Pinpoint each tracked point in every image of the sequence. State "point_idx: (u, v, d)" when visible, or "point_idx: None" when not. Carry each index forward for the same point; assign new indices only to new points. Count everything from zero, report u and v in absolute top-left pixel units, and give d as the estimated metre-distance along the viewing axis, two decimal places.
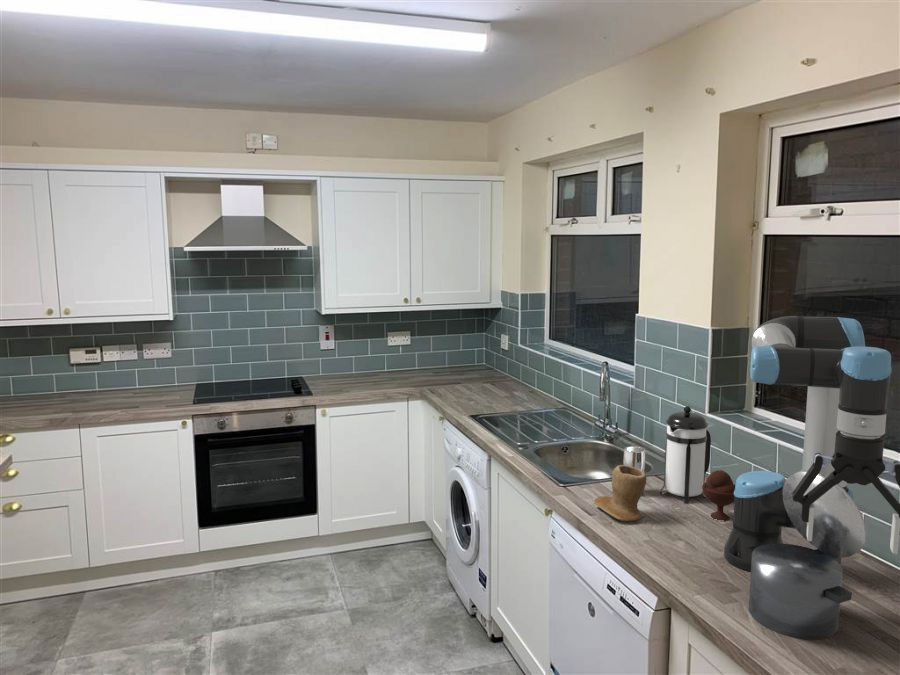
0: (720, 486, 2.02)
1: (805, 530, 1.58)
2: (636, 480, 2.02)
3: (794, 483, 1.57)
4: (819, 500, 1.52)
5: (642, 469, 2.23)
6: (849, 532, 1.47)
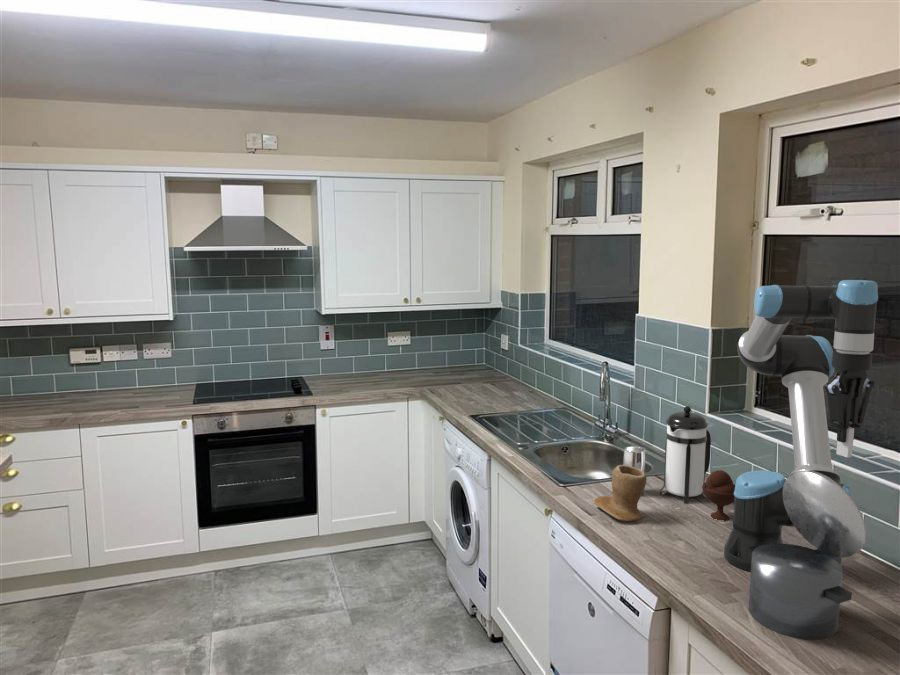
0: (720, 486, 2.02)
1: (805, 530, 1.58)
2: (636, 480, 2.02)
3: (794, 483, 1.57)
4: (819, 500, 1.52)
5: (642, 469, 2.23)
6: (849, 532, 1.47)
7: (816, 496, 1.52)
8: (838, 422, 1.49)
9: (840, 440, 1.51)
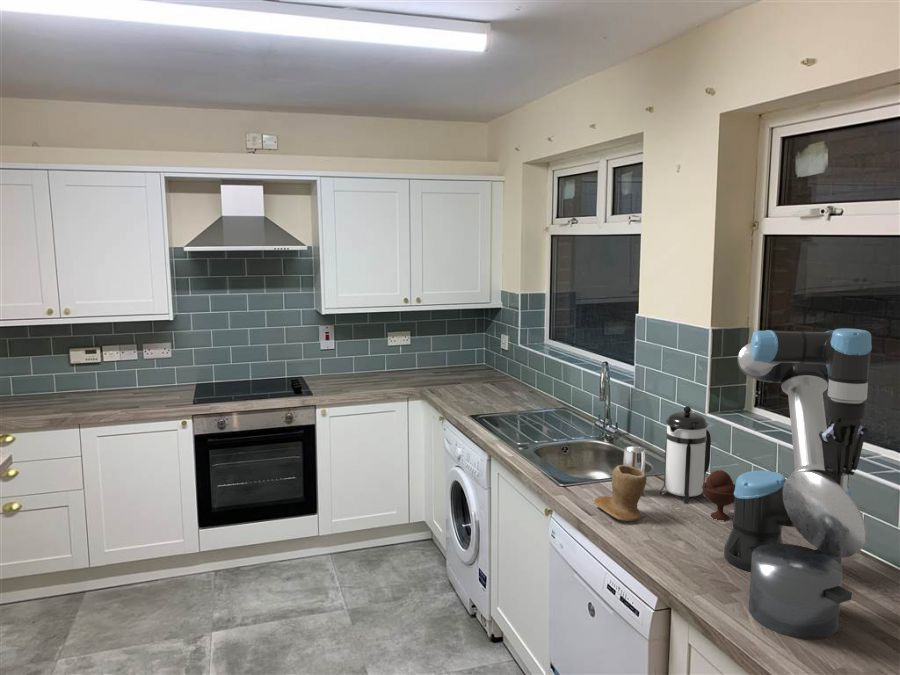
0: (720, 486, 2.02)
1: (805, 530, 1.58)
2: (636, 480, 2.02)
3: (794, 483, 1.57)
4: (819, 500, 1.52)
5: (642, 469, 2.23)
6: (849, 532, 1.47)
7: (816, 496, 1.52)
8: (832, 469, 1.51)
9: None
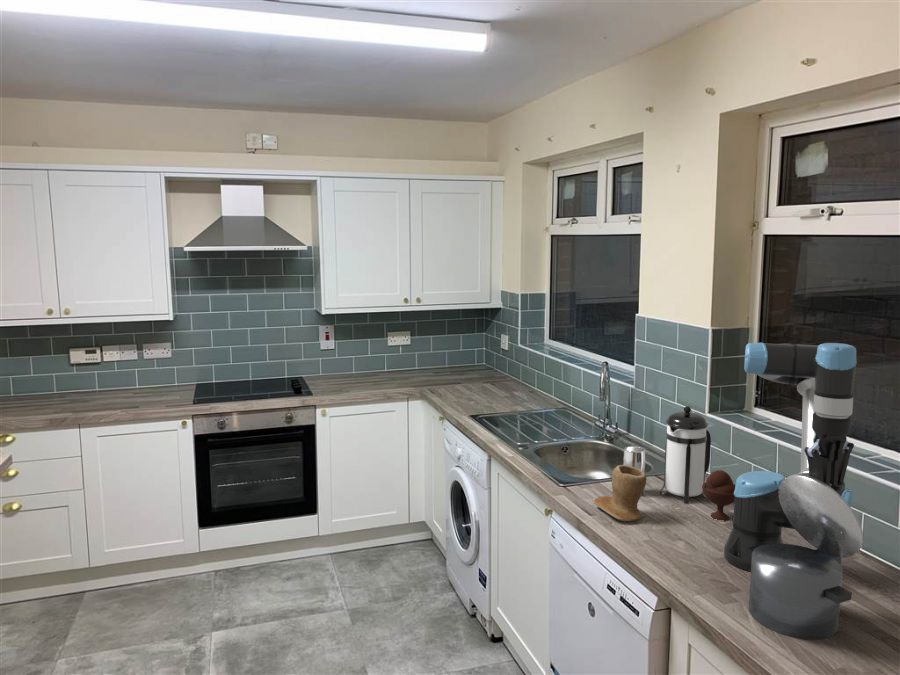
0: (720, 486, 2.02)
1: (804, 531, 1.58)
2: (636, 480, 2.02)
3: (788, 486, 1.56)
4: (814, 503, 1.51)
5: (642, 469, 2.23)
6: (846, 534, 1.46)
7: (811, 499, 1.51)
8: None
9: None
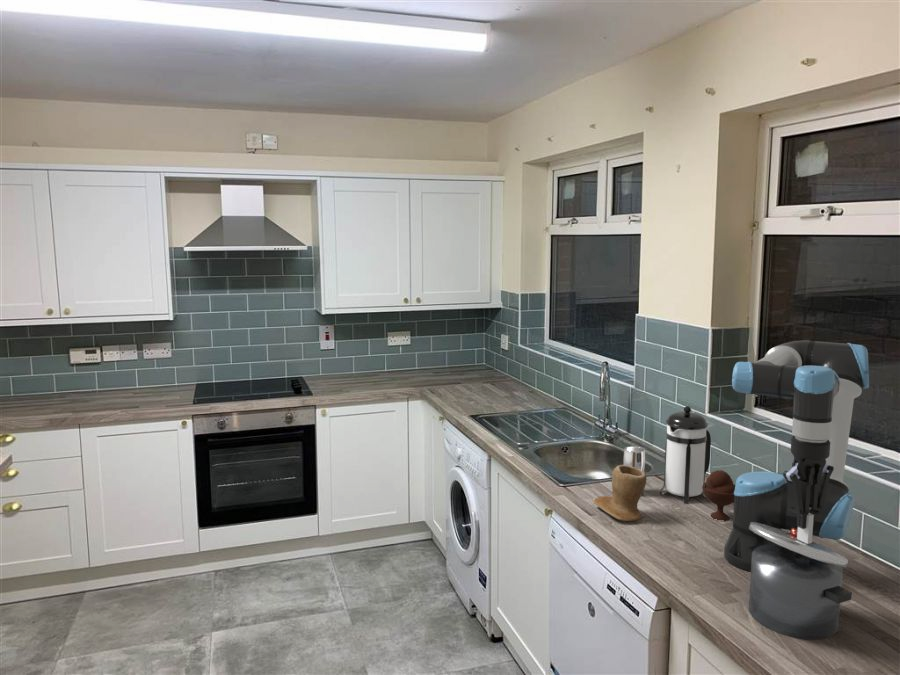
0: (720, 486, 2.02)
1: None
2: (636, 480, 2.02)
3: None
4: None
5: (642, 469, 2.23)
6: None
7: None
8: (797, 509, 1.48)
9: (800, 526, 1.50)
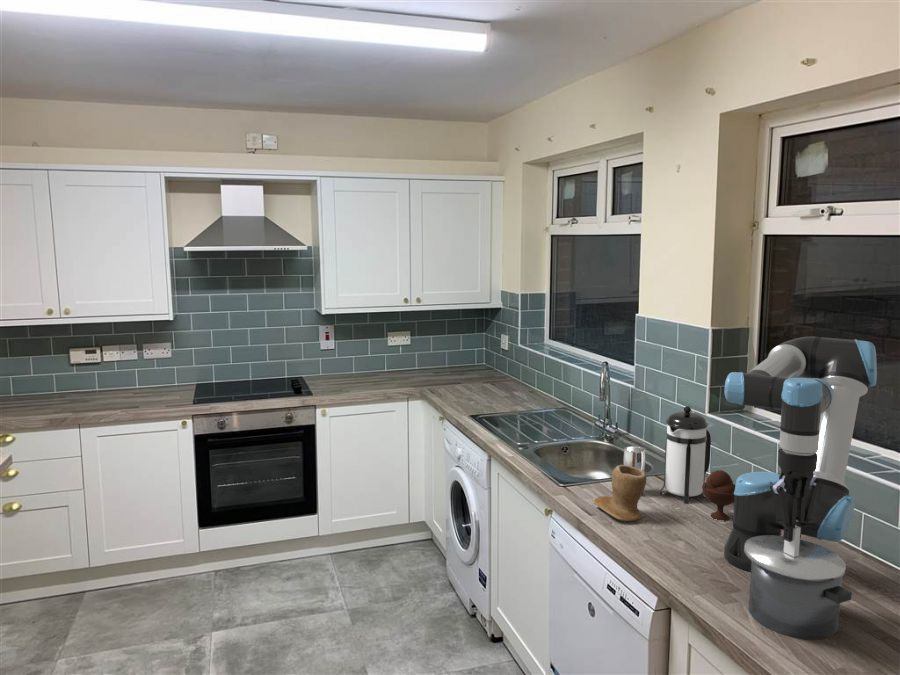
0: (720, 486, 2.02)
1: None
2: (636, 480, 2.02)
3: None
4: None
5: (642, 469, 2.23)
6: None
7: None
8: (784, 522, 1.47)
9: (786, 539, 1.49)
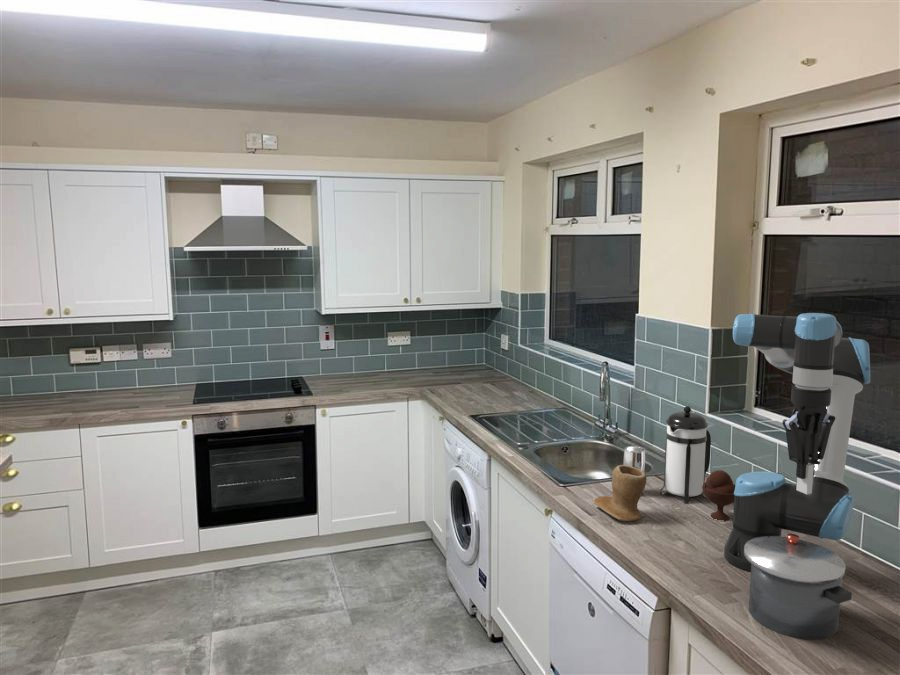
0: (720, 486, 2.02)
1: None
2: (636, 480, 2.02)
3: None
4: None
5: (642, 469, 2.23)
6: None
7: None
8: (796, 459, 1.46)
9: (799, 476, 1.48)
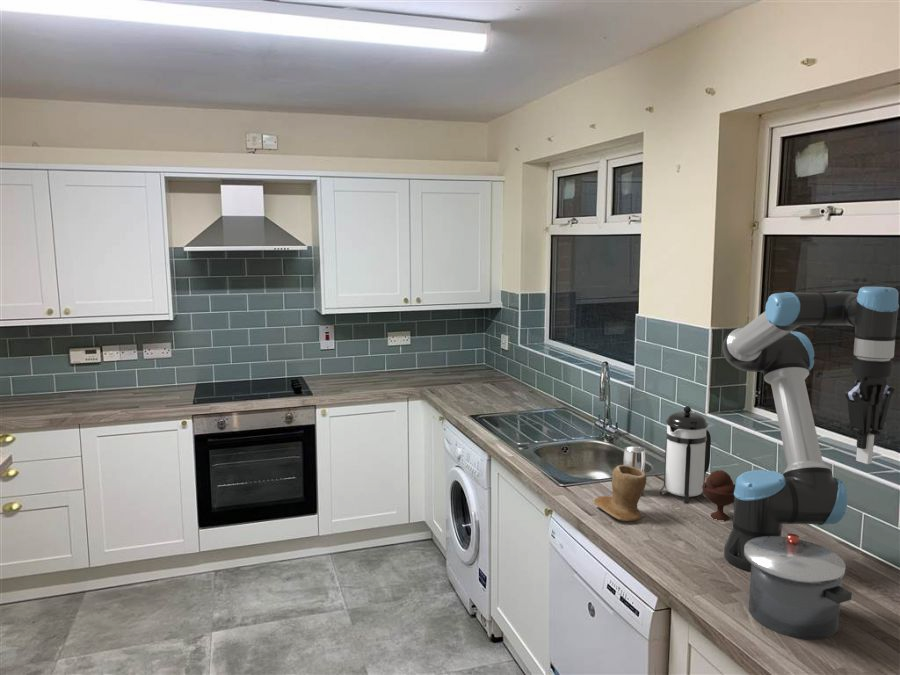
0: (720, 486, 2.02)
1: None
2: (636, 480, 2.02)
3: None
4: None
5: (642, 469, 2.23)
6: None
7: None
8: (858, 429, 1.49)
9: (860, 447, 1.51)
